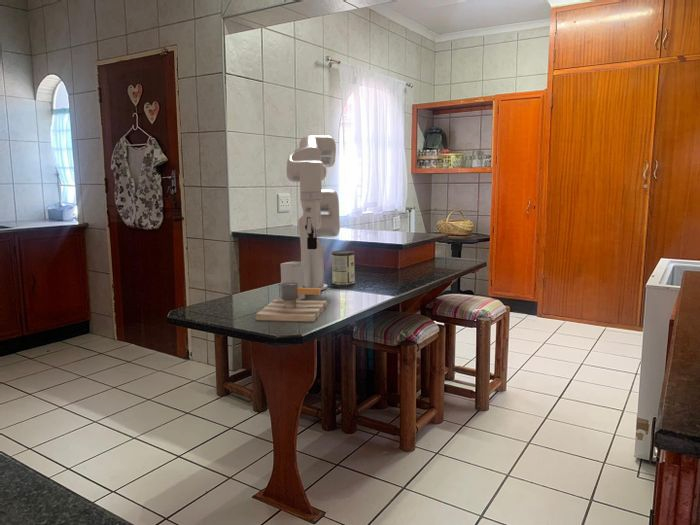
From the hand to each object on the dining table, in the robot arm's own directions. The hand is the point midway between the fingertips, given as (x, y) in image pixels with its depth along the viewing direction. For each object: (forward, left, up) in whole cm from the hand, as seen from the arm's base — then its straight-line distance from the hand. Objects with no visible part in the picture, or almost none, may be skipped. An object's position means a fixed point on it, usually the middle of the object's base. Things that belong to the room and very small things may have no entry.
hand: (312, 248), depth 192 cm
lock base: (+6, -7, -22) cm, 24 cm away
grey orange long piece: (+6, -3, -17) cm, 18 cm away
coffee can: (-50, +3, -22) cm, 55 cm away
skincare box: (-14, -11, -22) cm, 29 cm away
